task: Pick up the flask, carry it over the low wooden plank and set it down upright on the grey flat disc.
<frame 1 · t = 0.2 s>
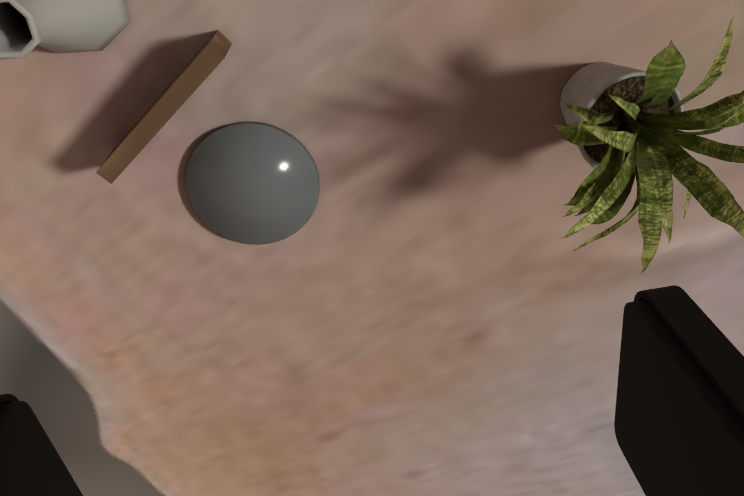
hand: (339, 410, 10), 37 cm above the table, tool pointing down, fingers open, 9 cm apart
grey flat disc: (253, 184, 47), on the table
house plant: (585, 81, 46), on the table
wooden plank: (170, 98, 44), on the table
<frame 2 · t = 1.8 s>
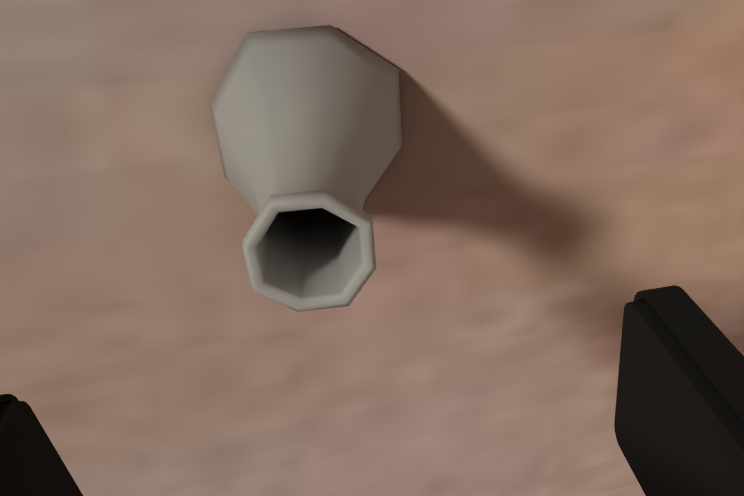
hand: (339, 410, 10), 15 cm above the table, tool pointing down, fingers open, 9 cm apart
flask: (309, 120, 23), on the table
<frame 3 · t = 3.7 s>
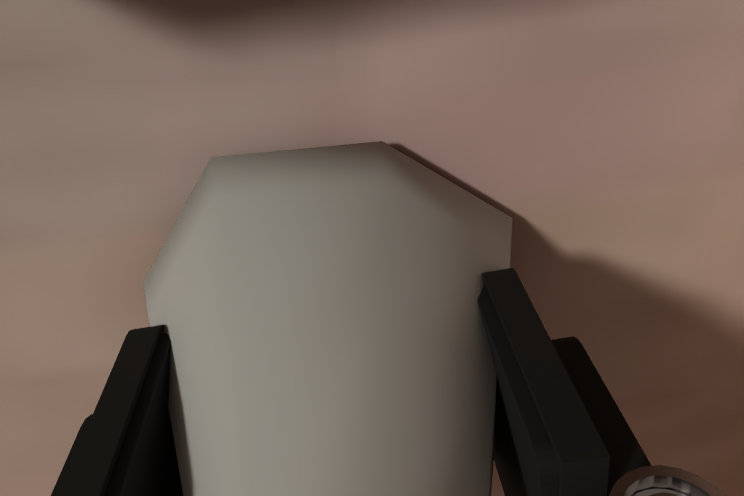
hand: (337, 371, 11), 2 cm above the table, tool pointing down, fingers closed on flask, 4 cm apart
flask: (334, 298, 12), on the table, touching gripper
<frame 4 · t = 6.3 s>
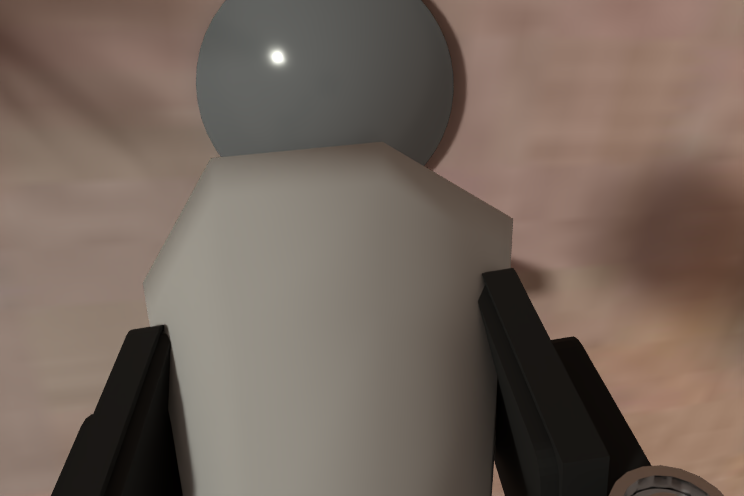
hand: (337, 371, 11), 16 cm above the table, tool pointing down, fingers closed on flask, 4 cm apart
flask: (334, 299, 12), point 14 cm above the table, touching gripper
grey flat disc: (326, 92, 25), on the table
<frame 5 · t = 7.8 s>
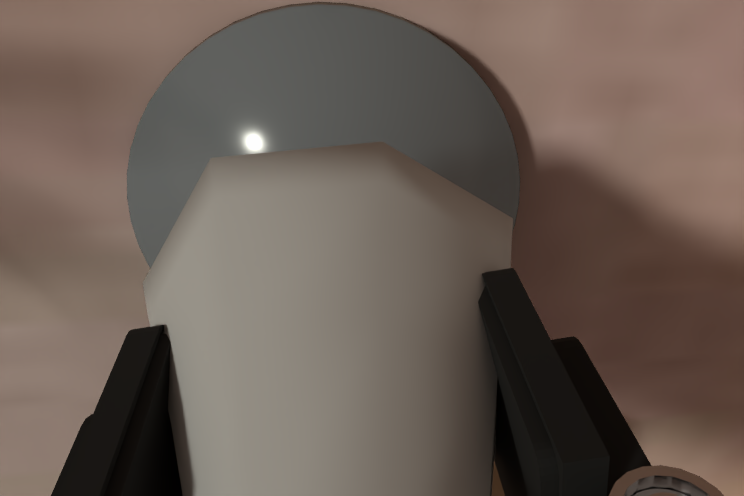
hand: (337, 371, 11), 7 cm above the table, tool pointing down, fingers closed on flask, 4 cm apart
flask: (334, 299, 12), point 5 cm above the table, touching gripper
grey flat disc: (328, 201, 16), on the table
when the fingers open (3 cm above the table, at t = 8.9 s): flask stays where it is, resting on grey flat disc.
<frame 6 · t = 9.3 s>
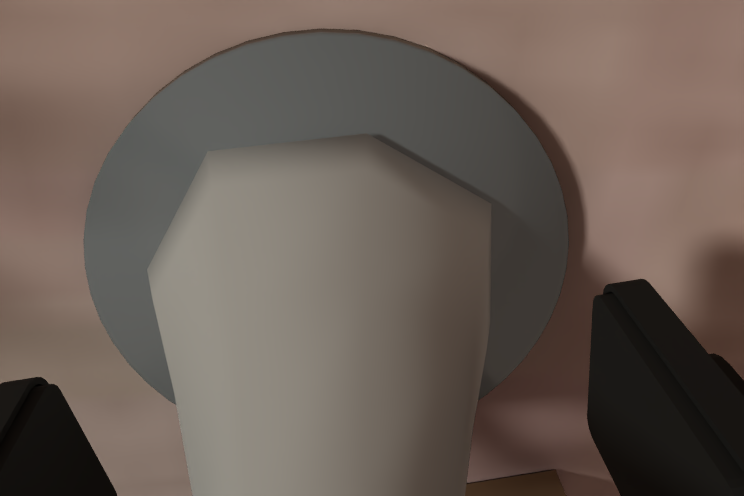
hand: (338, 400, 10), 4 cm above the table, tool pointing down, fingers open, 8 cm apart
flask: (327, 283, 13), resting on grey flat disc
grey flat disc: (333, 266, 14), on the table
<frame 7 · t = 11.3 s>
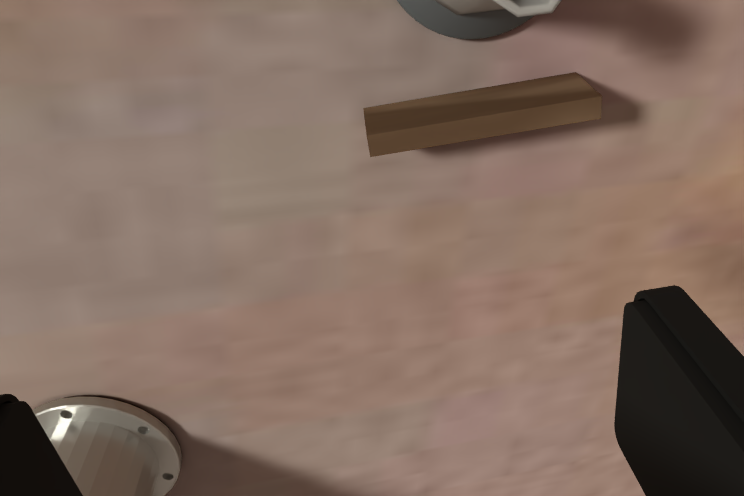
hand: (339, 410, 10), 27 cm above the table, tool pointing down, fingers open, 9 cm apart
wooden plank: (469, 100, 35), on the table
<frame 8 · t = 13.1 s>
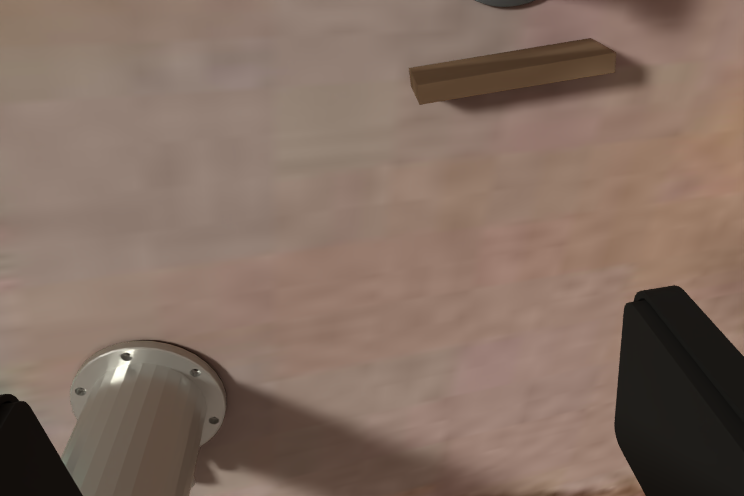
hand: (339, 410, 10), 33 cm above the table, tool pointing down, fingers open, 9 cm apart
wooden plank: (500, 62, 41), on the table
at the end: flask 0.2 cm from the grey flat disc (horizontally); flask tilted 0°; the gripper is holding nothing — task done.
